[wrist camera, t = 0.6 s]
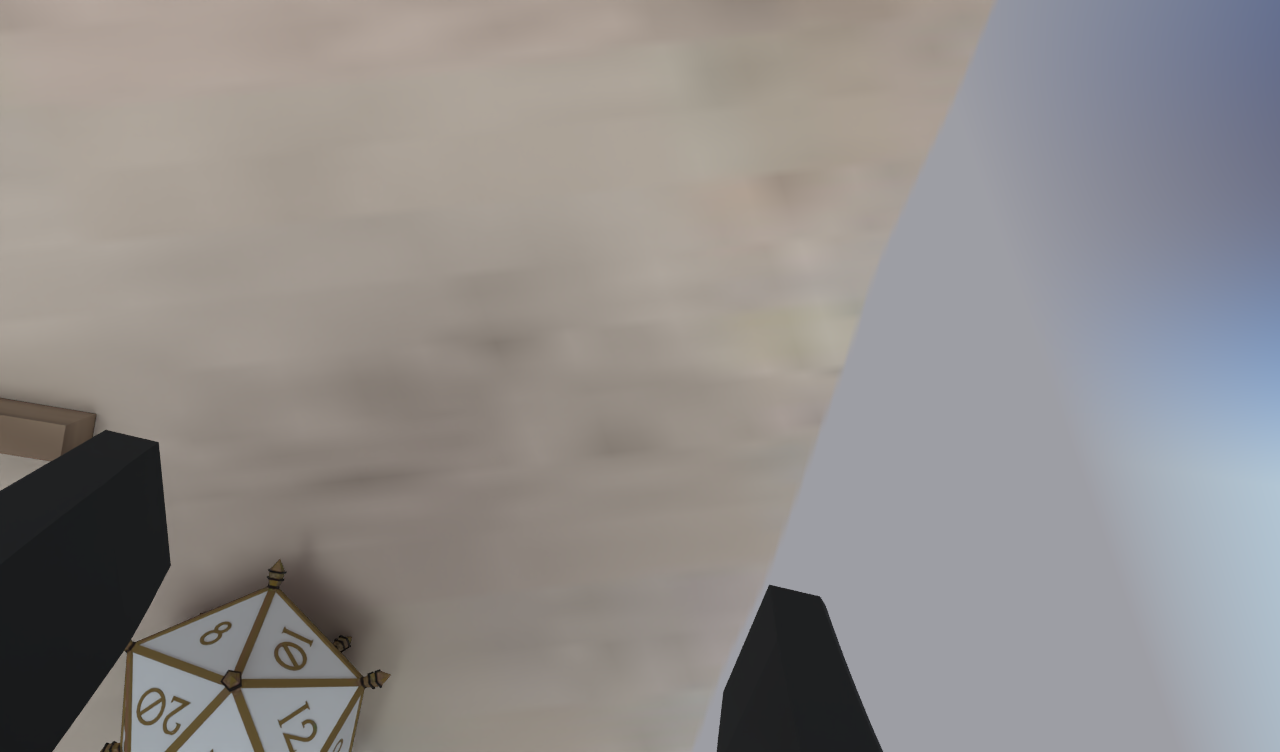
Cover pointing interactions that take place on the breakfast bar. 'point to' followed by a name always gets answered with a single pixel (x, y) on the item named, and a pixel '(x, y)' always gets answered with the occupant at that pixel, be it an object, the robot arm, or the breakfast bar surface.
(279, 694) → the game die
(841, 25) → the breakfast bar surface
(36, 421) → the u-shaped wooden tray
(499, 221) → the breakfast bar surface
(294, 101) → the breakfast bar surface
